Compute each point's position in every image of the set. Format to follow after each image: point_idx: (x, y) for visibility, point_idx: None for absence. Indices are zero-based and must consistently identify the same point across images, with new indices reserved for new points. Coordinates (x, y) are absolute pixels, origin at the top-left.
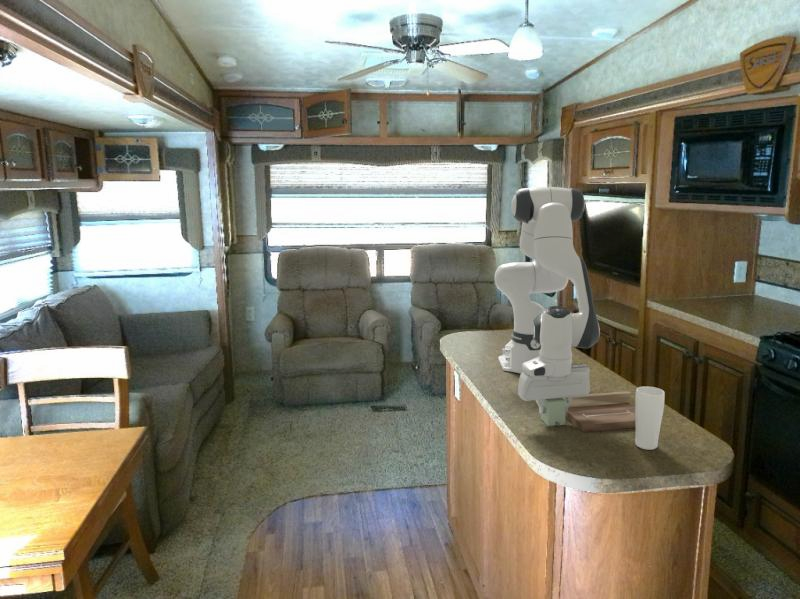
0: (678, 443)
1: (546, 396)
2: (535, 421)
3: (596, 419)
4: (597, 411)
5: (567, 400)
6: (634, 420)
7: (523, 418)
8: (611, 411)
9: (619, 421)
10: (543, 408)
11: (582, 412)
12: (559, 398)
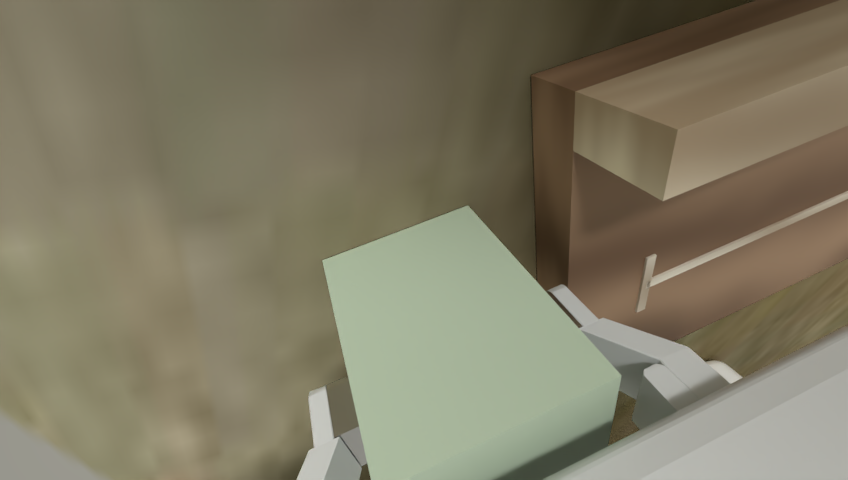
0: (785, 334)
1: None
2: (271, 311)
3: (673, 309)
4: (768, 182)
5: (638, 379)
6: (820, 270)
7: (136, 282)
8: (838, 168)
9: (754, 299)
10: (359, 466)
11: (667, 222)
12: (573, 461)
